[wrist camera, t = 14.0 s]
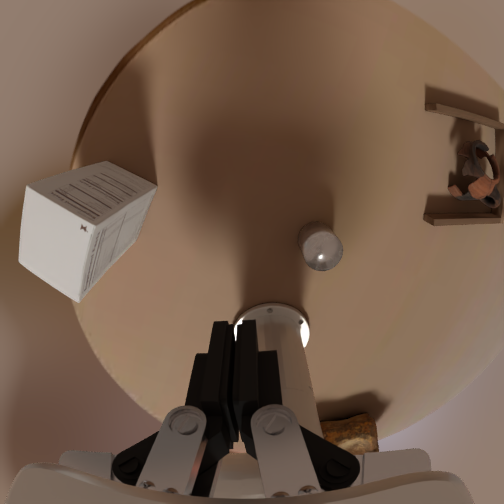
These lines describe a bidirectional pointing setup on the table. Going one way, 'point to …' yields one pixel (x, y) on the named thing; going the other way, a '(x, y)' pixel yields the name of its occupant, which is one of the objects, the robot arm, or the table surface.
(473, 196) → the pottery mug
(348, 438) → the rough brown rock
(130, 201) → the supplement box
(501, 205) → the display frame
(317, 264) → the grey tin
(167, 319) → the table surface
